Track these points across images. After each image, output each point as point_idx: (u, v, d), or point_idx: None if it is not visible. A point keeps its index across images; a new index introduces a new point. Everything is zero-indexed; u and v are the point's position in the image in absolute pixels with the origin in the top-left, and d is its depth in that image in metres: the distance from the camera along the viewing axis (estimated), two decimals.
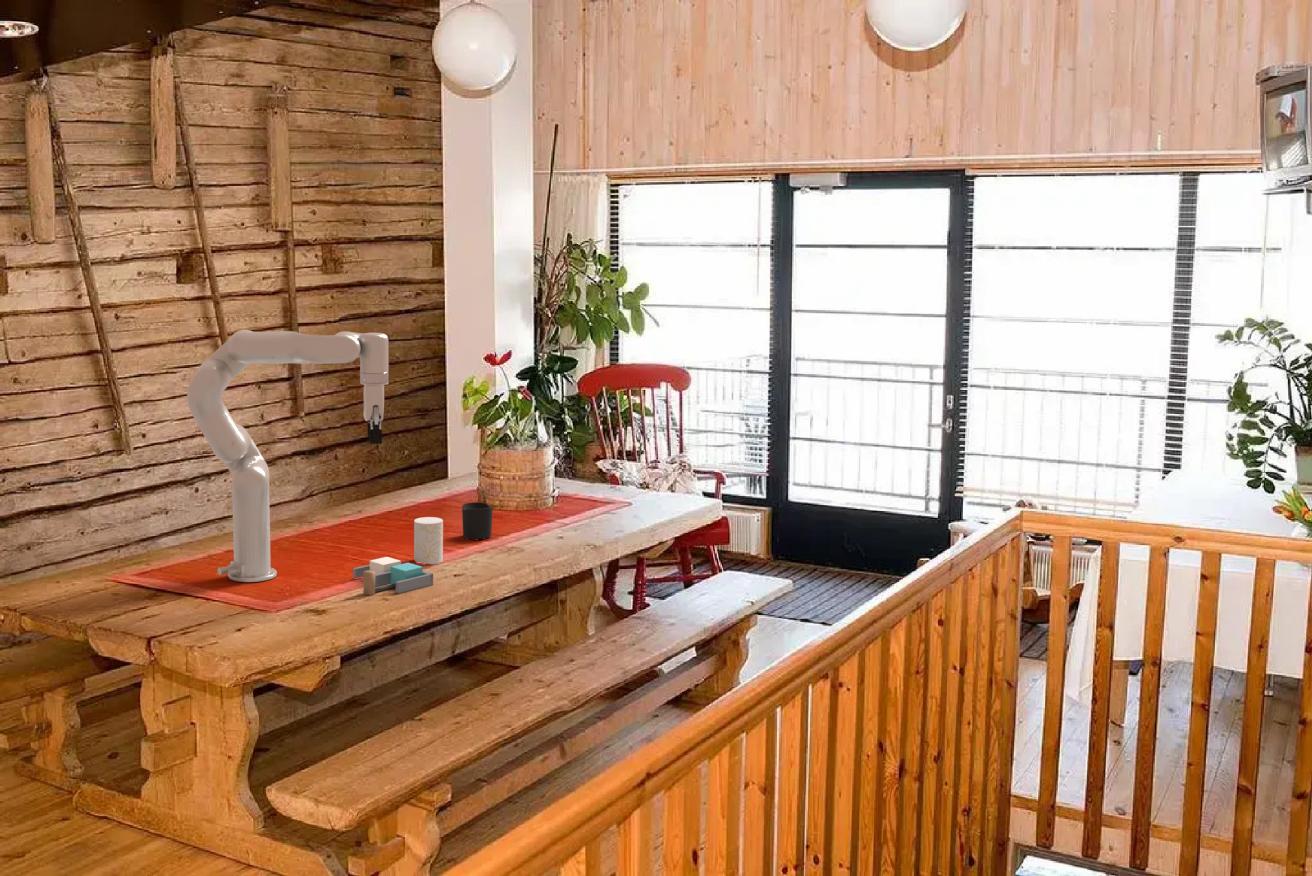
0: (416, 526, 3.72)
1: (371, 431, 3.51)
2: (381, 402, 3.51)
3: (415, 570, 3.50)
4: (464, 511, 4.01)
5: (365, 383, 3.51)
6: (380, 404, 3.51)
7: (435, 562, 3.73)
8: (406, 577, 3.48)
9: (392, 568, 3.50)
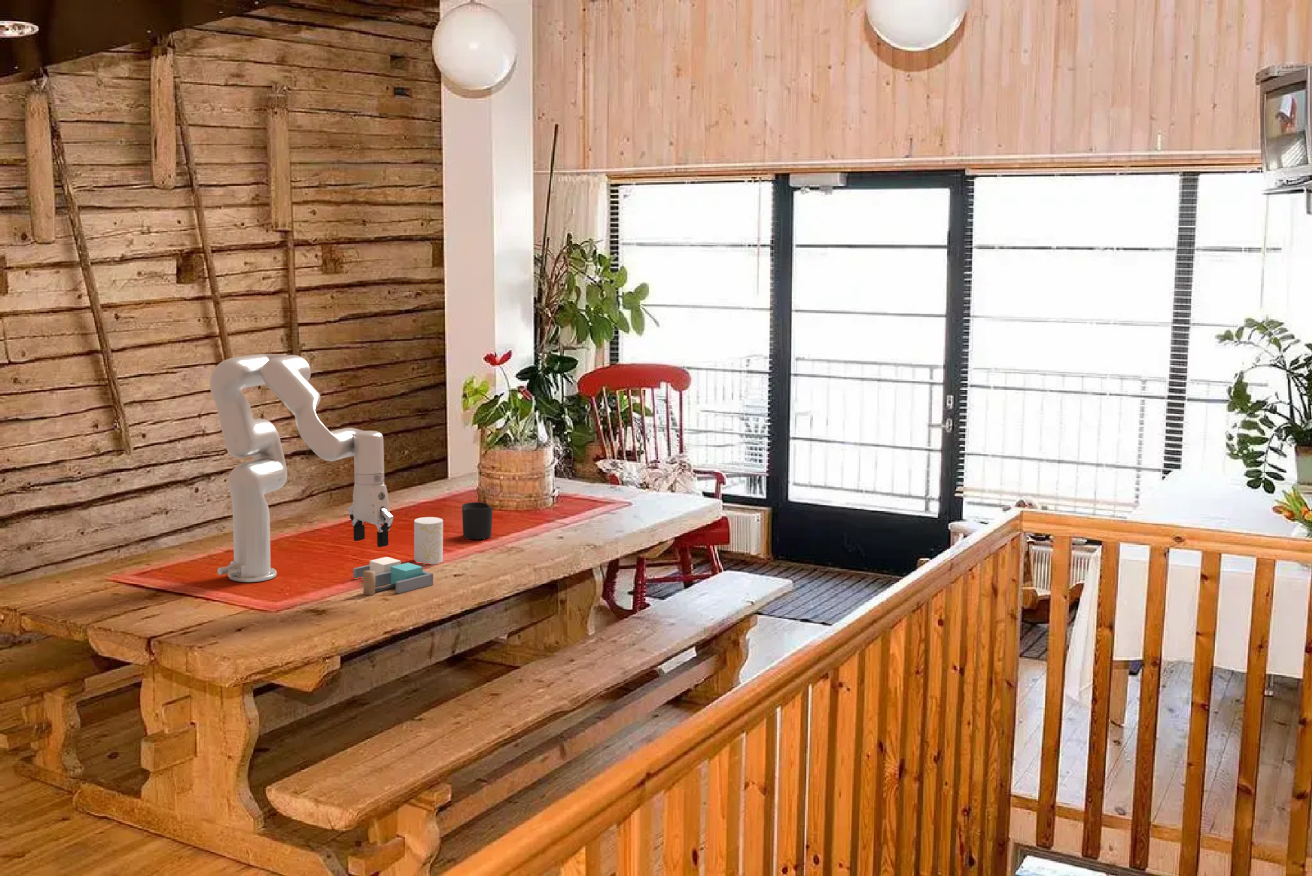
0: (416, 526, 3.72)
1: None
2: None
3: (415, 570, 3.50)
4: (464, 511, 4.01)
5: None
6: None
7: (435, 562, 3.73)
8: (406, 577, 3.48)
9: (392, 568, 3.50)
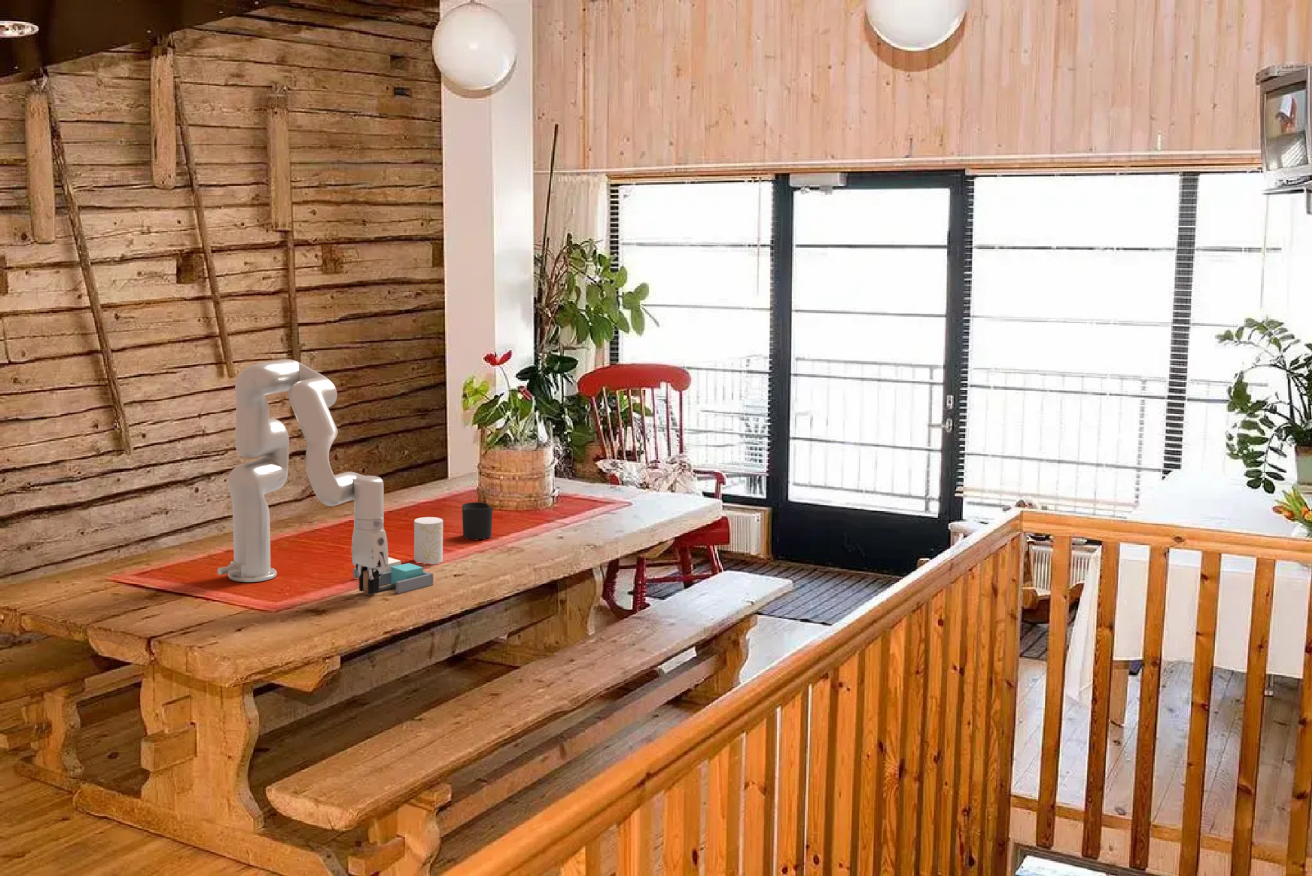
0: (416, 526, 3.72)
1: None
2: None
3: (415, 570, 3.49)
4: (464, 511, 4.01)
5: None
6: None
7: (435, 562, 3.73)
8: (406, 577, 3.47)
9: (392, 568, 3.50)
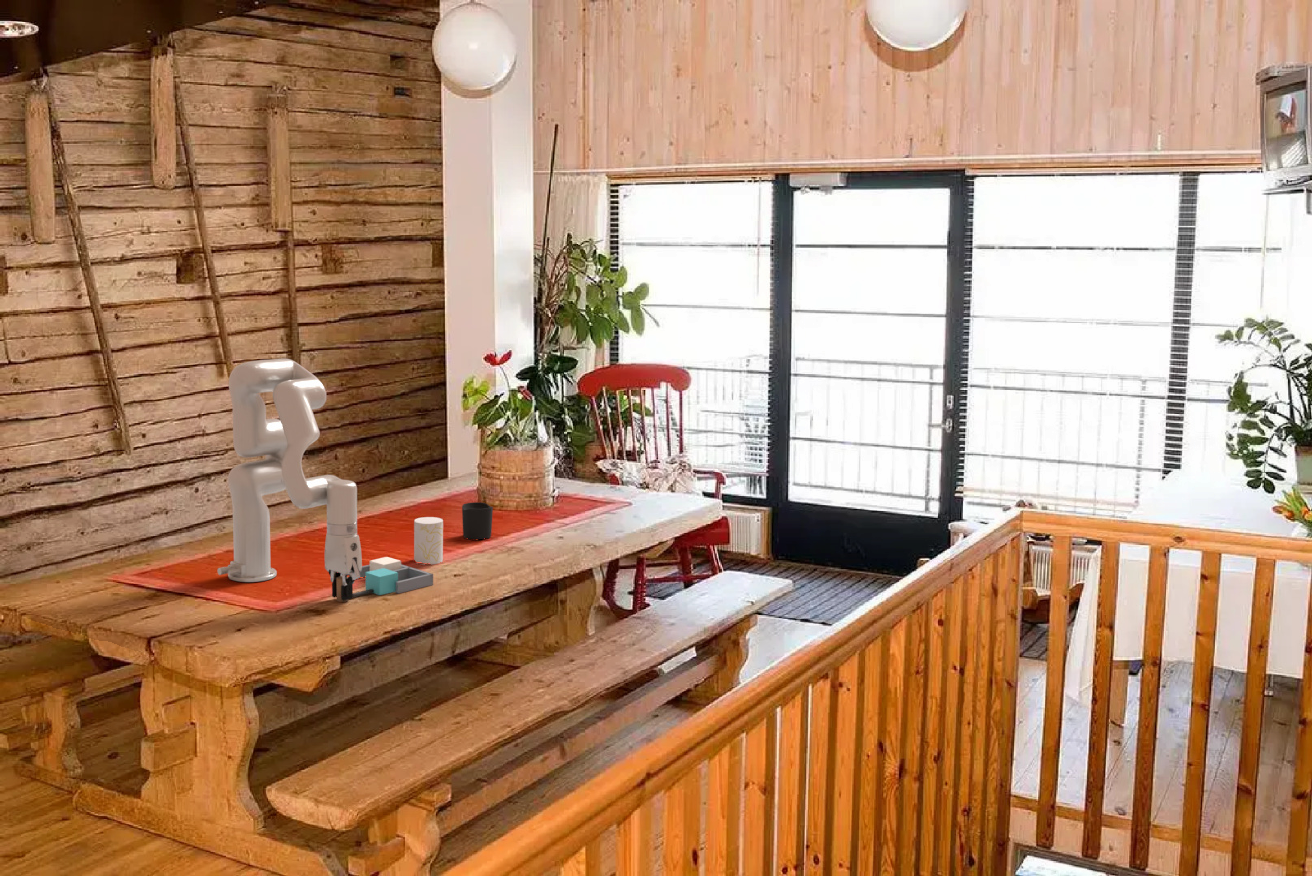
0: (416, 526, 3.72)
1: None
2: None
3: (390, 576, 3.43)
4: (464, 511, 4.01)
5: None
6: None
7: (435, 562, 3.73)
8: (381, 583, 3.41)
9: (367, 574, 3.44)
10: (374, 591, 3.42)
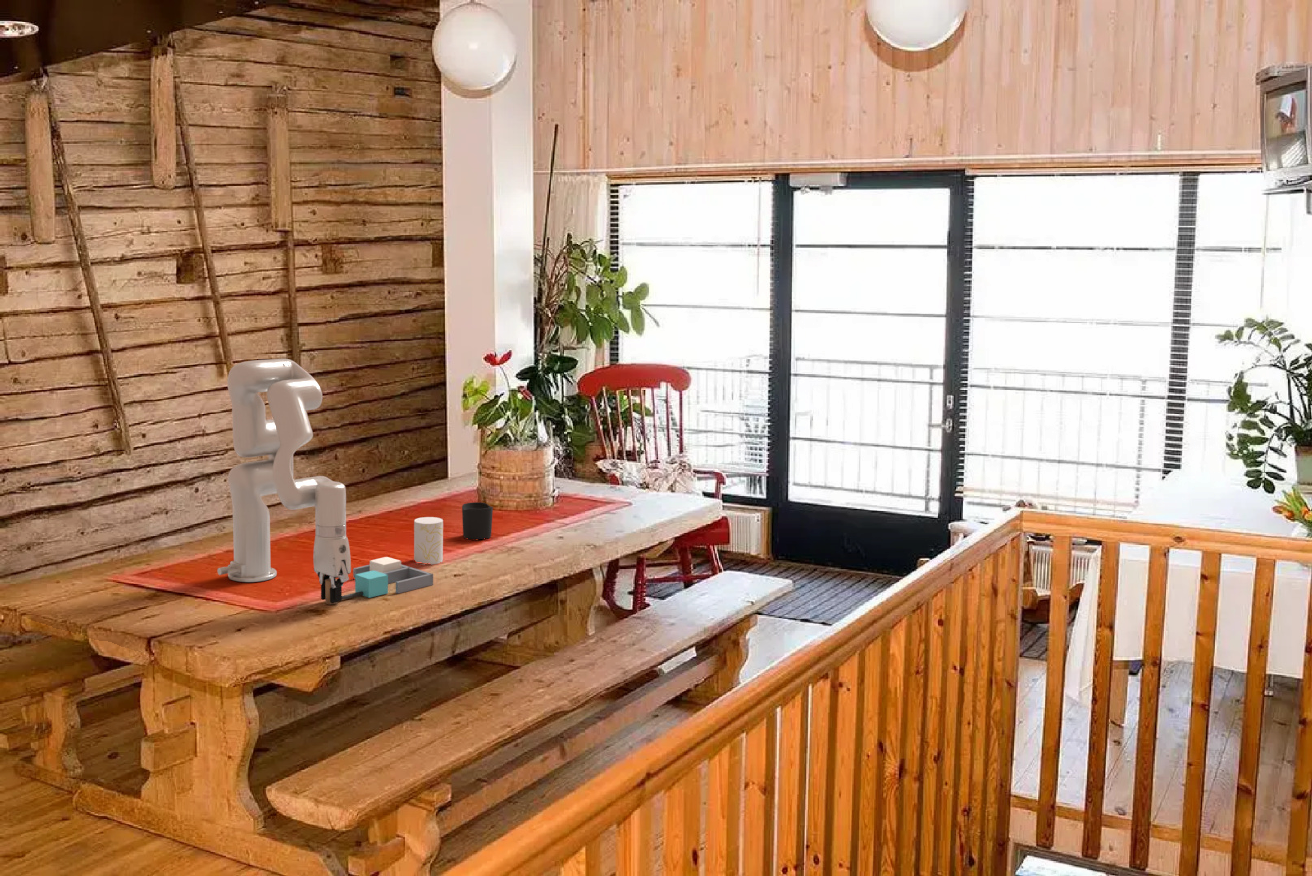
0: (416, 526, 3.72)
1: None
2: None
3: (380, 578, 3.40)
4: (464, 511, 4.01)
5: None
6: None
7: (435, 562, 3.73)
8: (370, 585, 3.38)
9: (356, 576, 3.41)
10: (364, 593, 3.40)
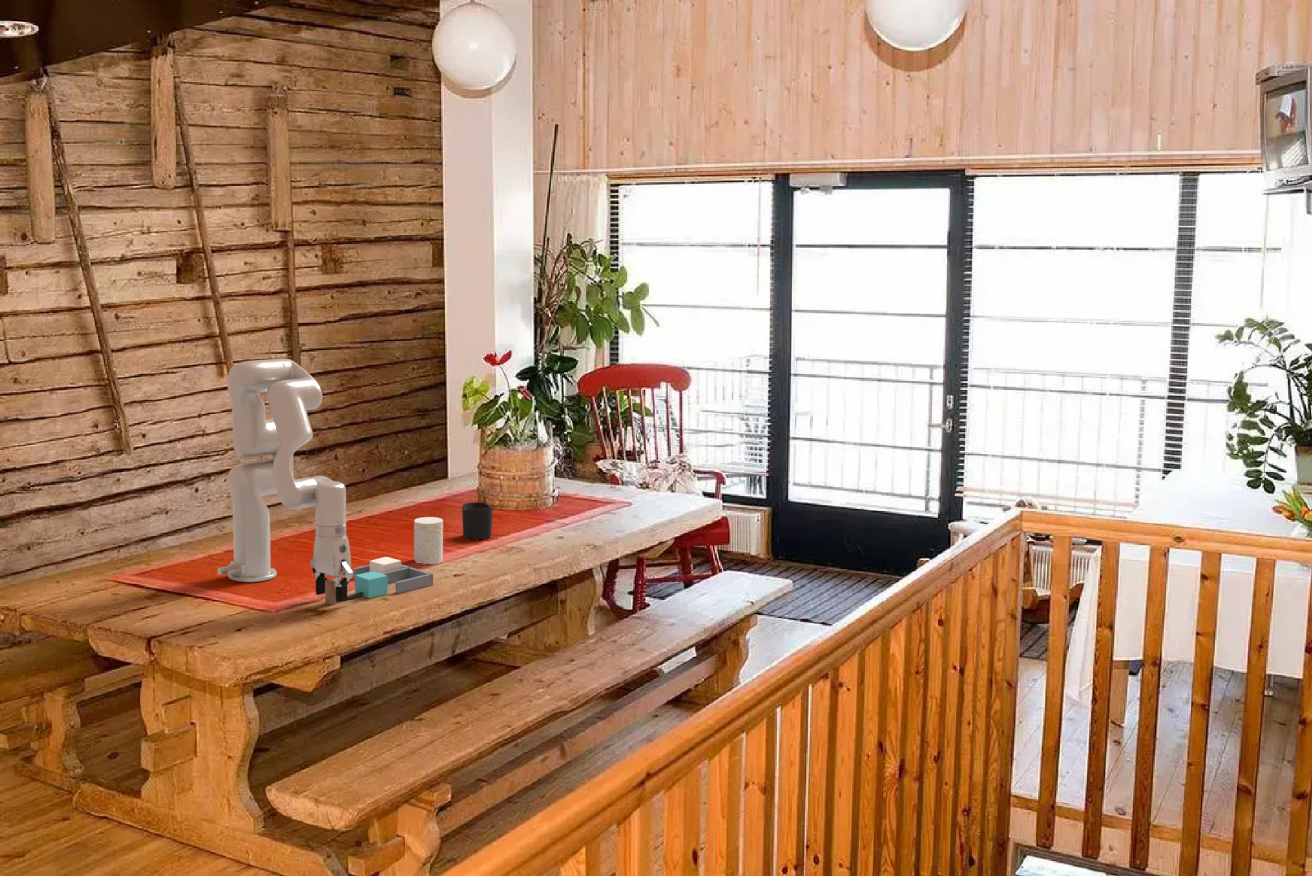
0: (416, 526, 3.72)
1: None
2: None
3: (379, 579, 3.40)
4: (464, 511, 4.01)
5: None
6: None
7: (435, 562, 3.73)
8: (370, 586, 3.38)
9: (356, 577, 3.41)
10: (363, 594, 3.40)
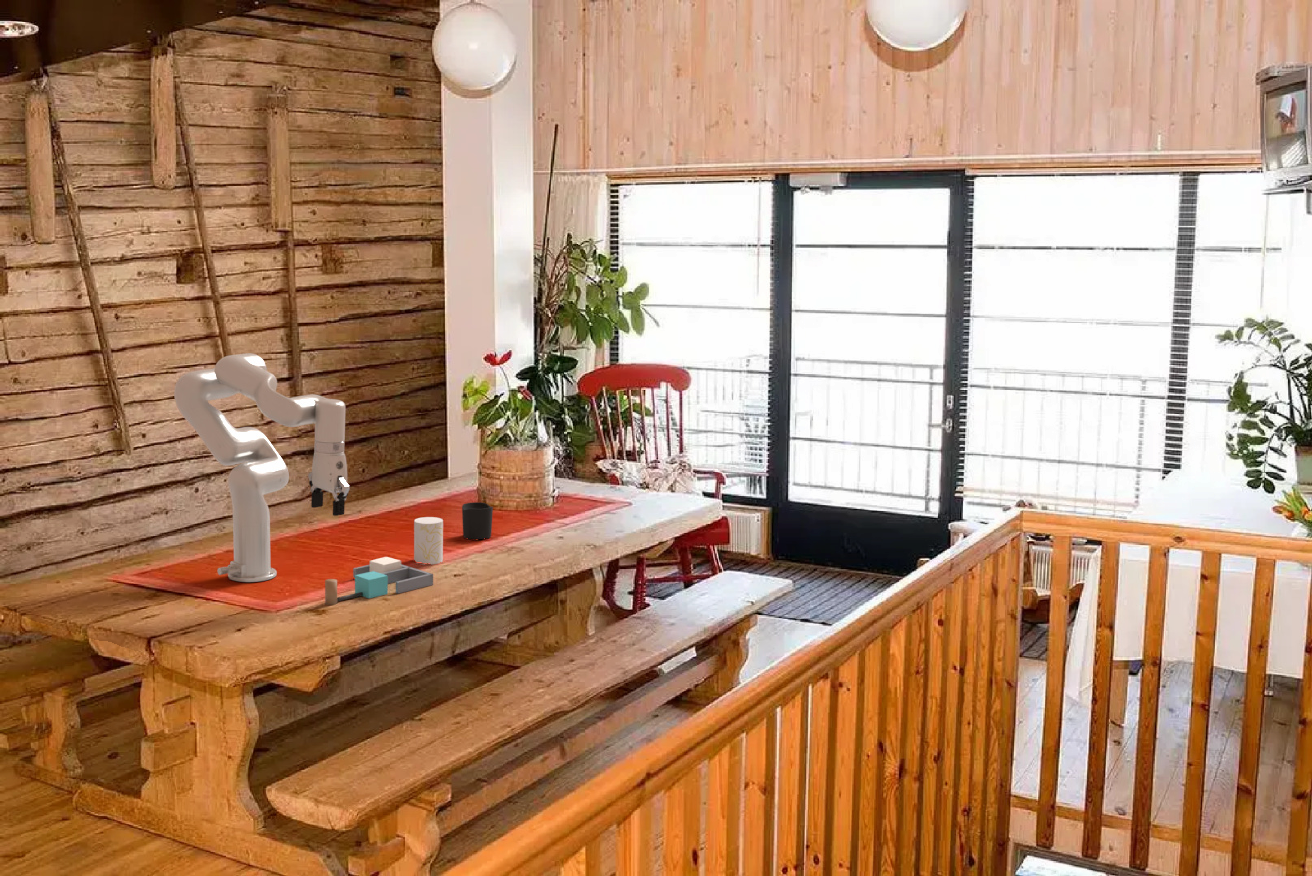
0: (416, 526, 3.72)
1: None
2: None
3: (380, 579, 3.40)
4: (464, 511, 4.01)
5: None
6: None
7: (435, 562, 3.73)
8: (370, 586, 3.38)
9: (356, 577, 3.41)
10: (363, 594, 3.40)
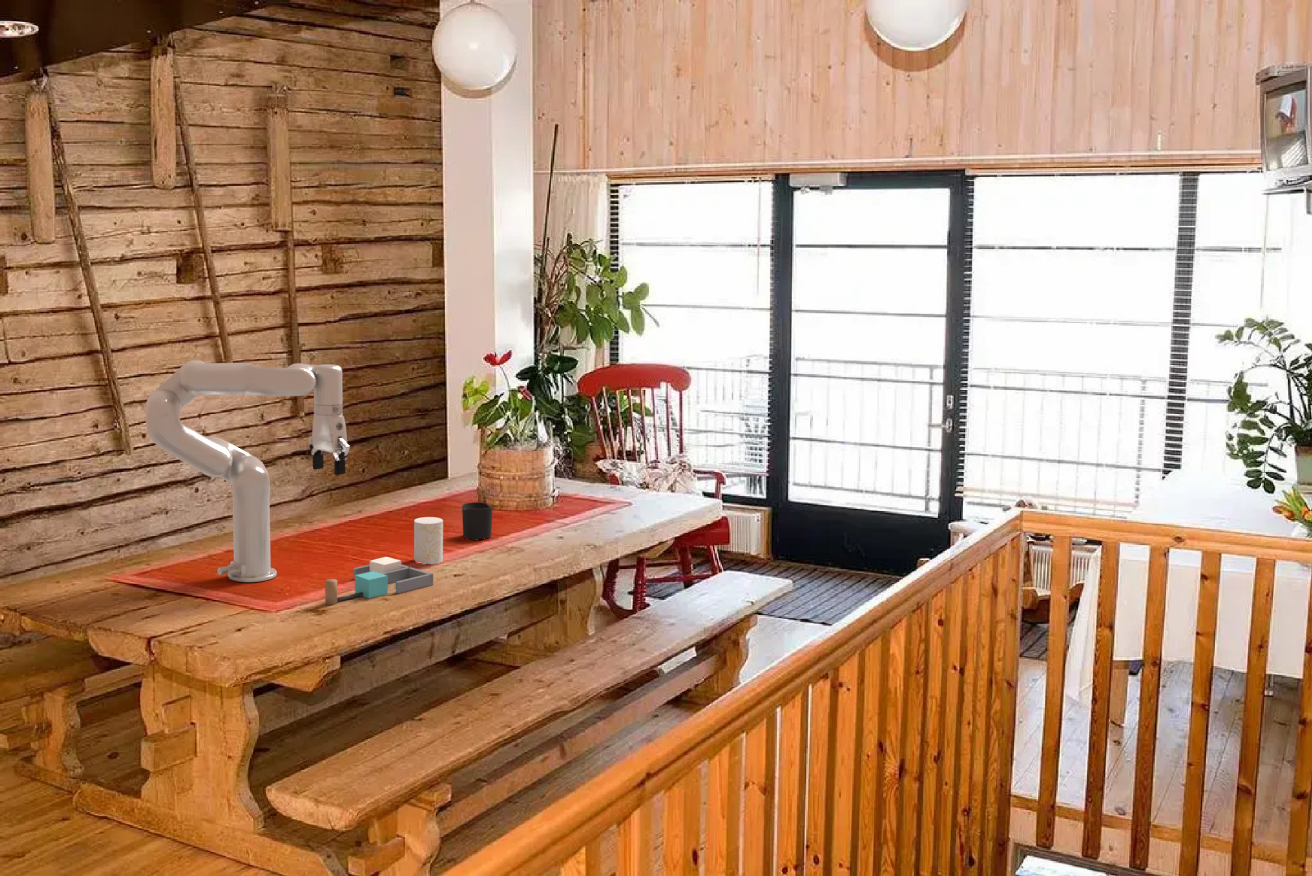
0: (416, 526, 3.72)
1: None
2: None
3: (380, 579, 3.40)
4: (464, 511, 4.01)
5: None
6: None
7: (435, 562, 3.73)
8: (370, 586, 3.38)
9: (356, 577, 3.41)
10: (363, 594, 3.40)
